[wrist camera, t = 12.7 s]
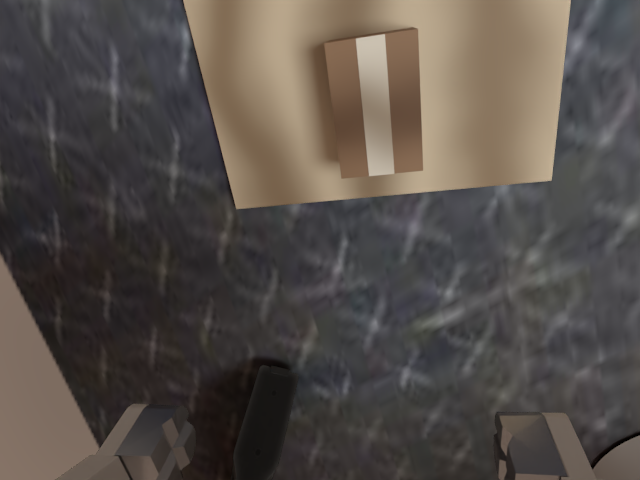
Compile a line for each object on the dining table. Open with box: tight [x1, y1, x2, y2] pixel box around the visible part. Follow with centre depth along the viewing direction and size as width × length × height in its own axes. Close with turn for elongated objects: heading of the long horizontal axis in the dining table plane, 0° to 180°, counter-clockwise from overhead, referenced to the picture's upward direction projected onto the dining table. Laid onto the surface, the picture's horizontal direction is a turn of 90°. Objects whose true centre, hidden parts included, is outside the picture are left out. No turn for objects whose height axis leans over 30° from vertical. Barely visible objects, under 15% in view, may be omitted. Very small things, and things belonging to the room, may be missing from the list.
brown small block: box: [324, 27, 423, 179], centre depth 23 cm, size 7×4×3 cm, turn 8°
